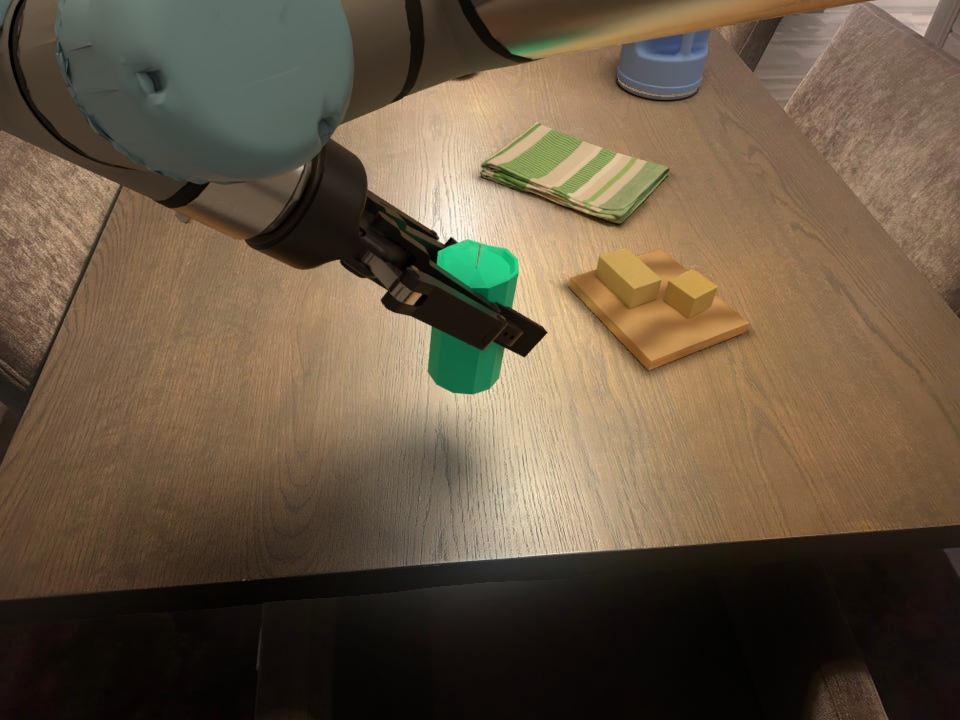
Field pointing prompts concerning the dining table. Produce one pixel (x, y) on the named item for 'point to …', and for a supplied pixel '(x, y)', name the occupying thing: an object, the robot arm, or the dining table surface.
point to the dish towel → (574, 173)
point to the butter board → (658, 316)
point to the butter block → (628, 277)
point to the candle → (496, 282)
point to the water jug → (664, 64)
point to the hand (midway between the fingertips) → (516, 320)
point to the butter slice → (690, 293)
